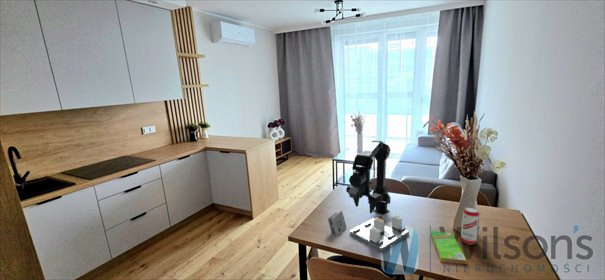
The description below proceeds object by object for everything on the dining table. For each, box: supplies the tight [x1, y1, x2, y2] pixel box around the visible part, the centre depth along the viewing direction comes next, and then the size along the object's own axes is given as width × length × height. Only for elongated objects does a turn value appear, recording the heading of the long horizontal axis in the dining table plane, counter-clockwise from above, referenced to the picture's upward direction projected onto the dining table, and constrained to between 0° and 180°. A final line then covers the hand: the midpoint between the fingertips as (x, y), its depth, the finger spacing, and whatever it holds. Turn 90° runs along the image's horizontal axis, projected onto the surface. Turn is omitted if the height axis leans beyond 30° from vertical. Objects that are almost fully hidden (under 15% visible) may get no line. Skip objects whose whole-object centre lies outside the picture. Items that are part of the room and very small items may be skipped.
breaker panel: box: [349, 216, 410, 253], centre depth 133 cm, size 21×19×3 cm
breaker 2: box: [369, 227, 380, 243], centre depth 124 cm, size 3×4×6 cm, turn 36°
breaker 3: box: [391, 214, 403, 230], centre depth 134 cm, size 3×4×6 cm, turn 36°
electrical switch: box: [327, 210, 347, 236], centre depth 138 cm, size 9×5×9 cm, turn 141°
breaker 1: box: [374, 216, 385, 232], centre depth 132 cm, size 3×4×6 cm, turn 36°
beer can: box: [460, 206, 480, 245], centre depth 123 cm, size 6×6×16 cm
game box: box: [430, 230, 467, 265], centre depth 121 cm, size 3×10×20 cm
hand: (363, 209), depth 132 cm, fingers open, 9 cm apart
